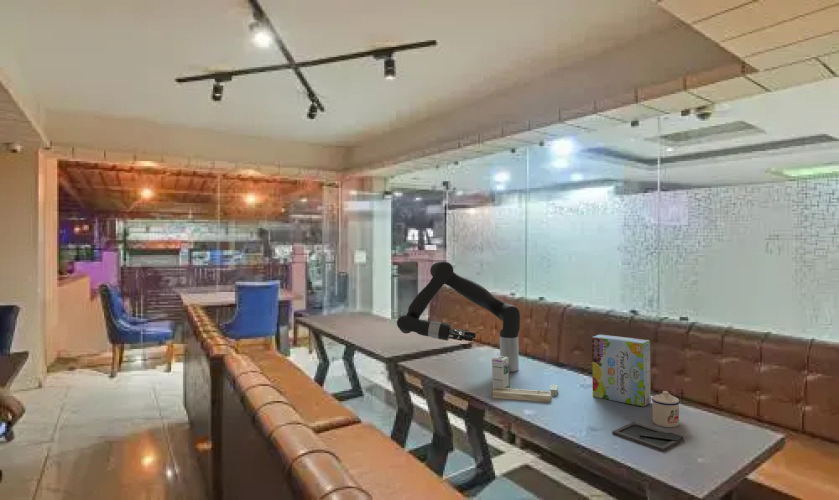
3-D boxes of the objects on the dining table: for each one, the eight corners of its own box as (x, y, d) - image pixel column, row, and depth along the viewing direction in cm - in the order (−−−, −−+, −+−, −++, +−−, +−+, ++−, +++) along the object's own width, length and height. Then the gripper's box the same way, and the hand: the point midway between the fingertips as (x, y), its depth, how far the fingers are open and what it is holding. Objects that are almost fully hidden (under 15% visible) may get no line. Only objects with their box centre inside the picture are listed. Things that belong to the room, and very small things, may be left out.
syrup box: (503, 392, 222) (503, 359, 221) (492, 389, 225) (491, 357, 225) (509, 388, 226) (509, 356, 226) (498, 386, 230) (497, 355, 229)
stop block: (550, 390, 223) (550, 384, 223) (557, 390, 222) (557, 385, 222) (550, 395, 216) (550, 389, 216) (557, 395, 215) (557, 390, 215)
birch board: (494, 393, 221) (494, 387, 220) (551, 397, 214) (551, 391, 213) (492, 397, 215) (492, 391, 215) (550, 402, 208) (550, 395, 208)
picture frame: (683, 442, 168) (633, 426, 183) (683, 436, 168) (633, 420, 183) (663, 453, 160) (612, 435, 175) (663, 447, 160) (612, 430, 175)
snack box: (651, 402, 205) (651, 339, 204) (644, 408, 199) (644, 343, 198) (599, 391, 220) (599, 333, 219) (591, 396, 213) (590, 336, 212)
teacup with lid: (671, 430, 177) (671, 397, 176) (646, 422, 184) (646, 391, 184) (688, 421, 184) (688, 390, 184) (663, 414, 191) (663, 384, 191)
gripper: (437, 325, 225) (472, 331, 221) (443, 320, 239) (477, 326, 235) (434, 341, 225) (470, 348, 221) (441, 336, 239) (475, 342, 235)
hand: (474, 337), depth 228 cm, fingers open, 8 cm apart
